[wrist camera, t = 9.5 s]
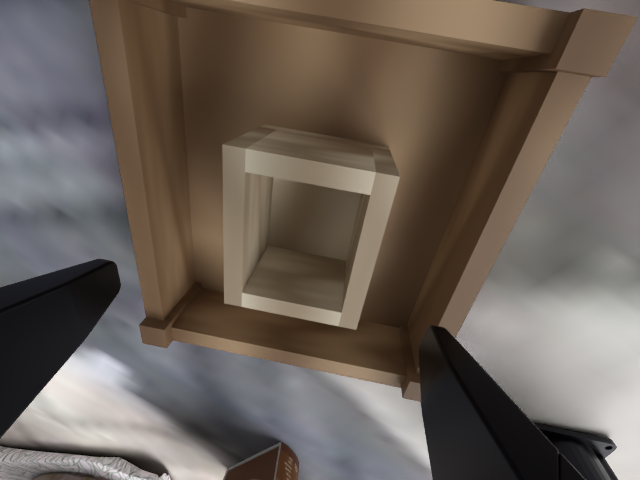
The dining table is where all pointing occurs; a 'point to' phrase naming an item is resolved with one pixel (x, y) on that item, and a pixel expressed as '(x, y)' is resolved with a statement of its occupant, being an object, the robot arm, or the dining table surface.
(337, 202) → the pale crate
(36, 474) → the cookie jar
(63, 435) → the dining table surface
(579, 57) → the crate
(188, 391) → the dining table surface
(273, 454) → the food container
